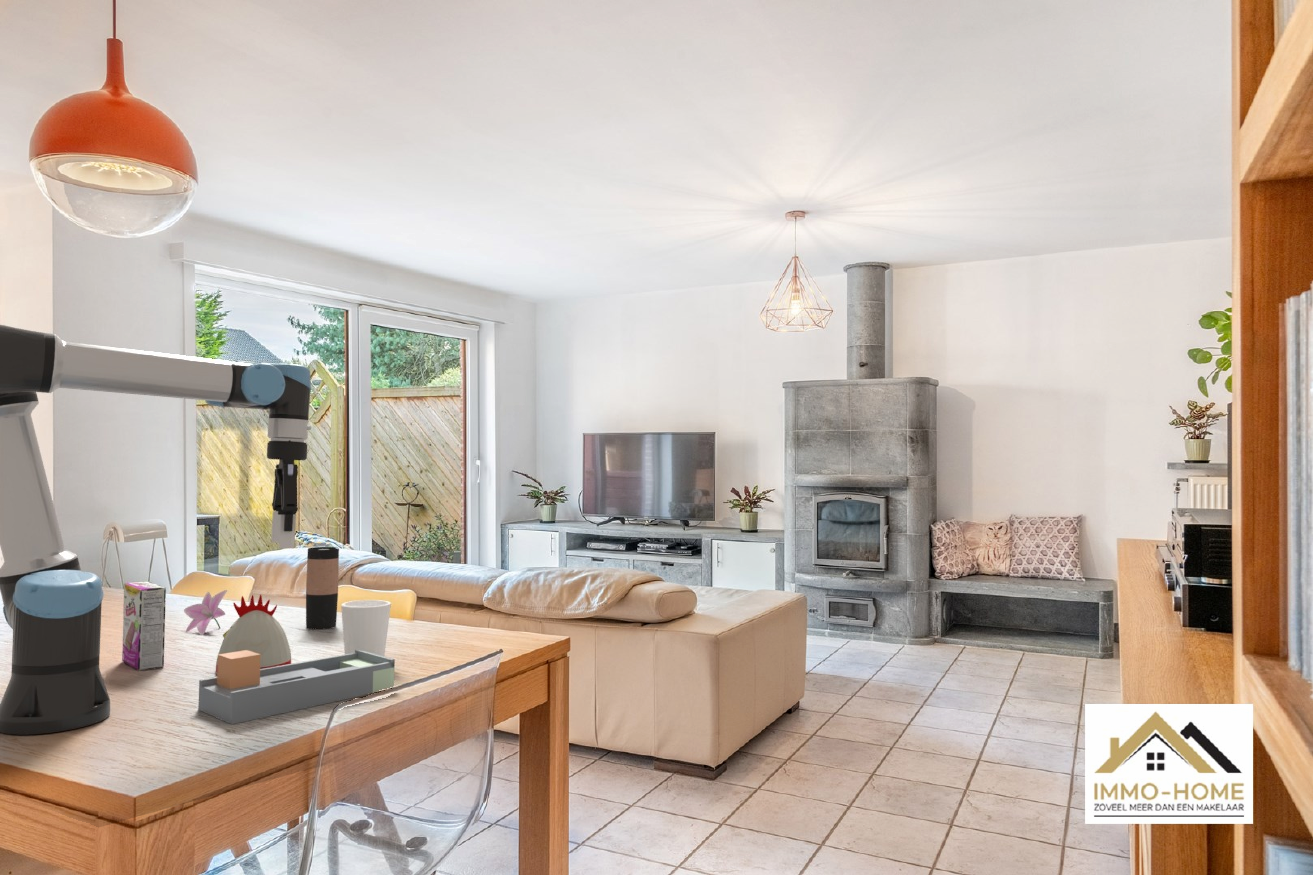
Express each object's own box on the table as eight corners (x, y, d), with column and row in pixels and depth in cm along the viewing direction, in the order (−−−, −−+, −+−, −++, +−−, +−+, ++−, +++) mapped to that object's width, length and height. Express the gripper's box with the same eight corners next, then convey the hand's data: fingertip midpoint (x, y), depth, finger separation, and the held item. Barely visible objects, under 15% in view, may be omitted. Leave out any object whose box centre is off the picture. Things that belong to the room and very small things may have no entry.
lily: (183, 631, 216) (170, 601, 211) (231, 609, 222) (219, 579, 218) (197, 654, 207) (183, 623, 203) (246, 630, 214) (234, 600, 209)
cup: (330, 664, 180) (332, 602, 180) (374, 656, 187) (375, 598, 187) (354, 672, 173) (356, 608, 173) (398, 664, 180) (399, 603, 181)
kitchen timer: (219, 663, 179) (222, 591, 179) (291, 659, 184) (293, 588, 185) (212, 679, 166) (215, 601, 167) (290, 674, 171) (292, 598, 172)
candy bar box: (119, 662, 178) (122, 582, 179) (146, 658, 182) (149, 580, 182) (137, 671, 171) (140, 588, 171) (164, 667, 174) (167, 586, 175)
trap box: (231, 724, 138) (232, 689, 138) (198, 709, 146) (199, 676, 146) (393, 688, 161) (394, 659, 161) (357, 677, 169) (358, 649, 169)
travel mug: (298, 628, 216) (301, 549, 217) (315, 623, 224) (317, 546, 224) (326, 630, 215) (329, 550, 216) (342, 624, 223) (345, 547, 223)
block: (230, 689, 144) (231, 659, 144) (216, 683, 147) (217, 654, 147) (259, 683, 148) (260, 654, 148) (246, 678, 151) (247, 649, 151)
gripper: (316, 440, 166) (310, 550, 165) (299, 442, 188) (294, 540, 187) (274, 438, 162) (268, 551, 162) (261, 440, 184) (256, 540, 183)
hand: (282, 545), depth 174 cm, fingers open, 13 cm apart
